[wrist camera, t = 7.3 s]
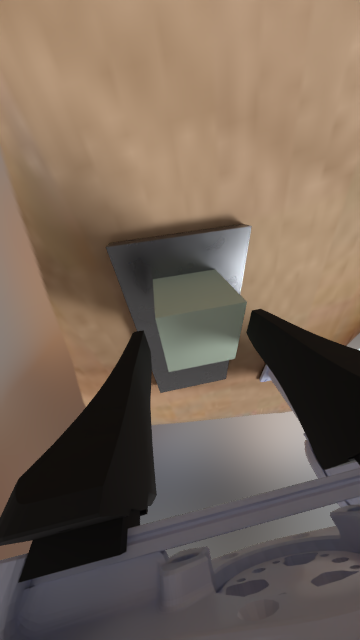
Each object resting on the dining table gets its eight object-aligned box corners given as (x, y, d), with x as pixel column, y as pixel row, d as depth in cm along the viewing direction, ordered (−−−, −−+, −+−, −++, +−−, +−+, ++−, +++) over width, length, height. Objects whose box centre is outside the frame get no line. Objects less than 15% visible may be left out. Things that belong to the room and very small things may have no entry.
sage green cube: (215, 269, 12) (246, 301, 8) (212, 318, 15) (235, 358, 11) (152, 279, 12) (155, 318, 8) (163, 327, 15) (168, 372, 11)
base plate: (243, 223, 12) (280, 233, 8) (222, 372, 24) (234, 398, 21) (109, 243, 11) (93, 261, 8) (159, 385, 24) (161, 415, 20)
